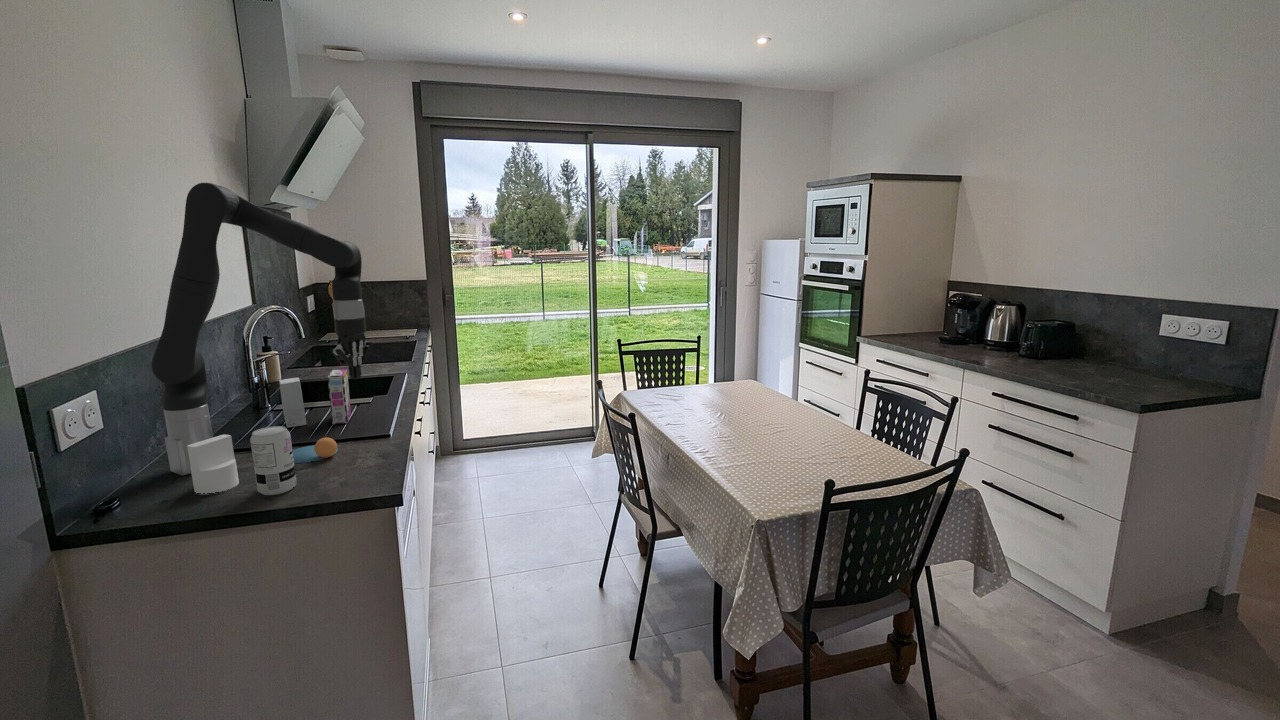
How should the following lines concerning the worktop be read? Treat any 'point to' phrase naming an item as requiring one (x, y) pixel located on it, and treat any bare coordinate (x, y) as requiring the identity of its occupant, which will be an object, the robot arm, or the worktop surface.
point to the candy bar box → (339, 396)
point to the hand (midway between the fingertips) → (355, 378)
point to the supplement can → (273, 460)
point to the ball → (325, 447)
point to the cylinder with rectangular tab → (213, 465)
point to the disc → (306, 454)
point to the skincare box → (292, 402)
